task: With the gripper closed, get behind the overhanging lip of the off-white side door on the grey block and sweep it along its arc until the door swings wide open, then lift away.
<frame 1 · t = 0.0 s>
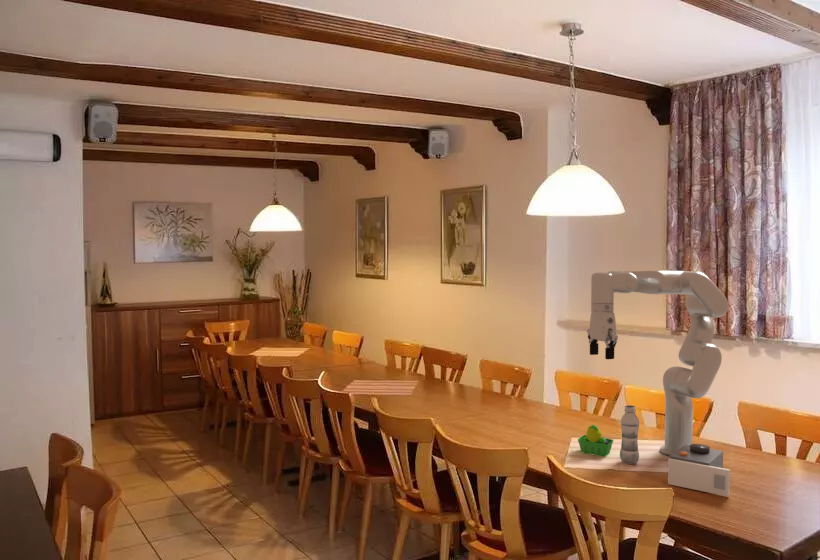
hand: (601, 356, 243), 37 cm above the table, tool pointing down, fingers open, 9 cm apart
grey block: (696, 480, 225), on the table
door: (697, 477, 216), point 4 cm above the table, hinge at 0.0°
fruit basket: (594, 454, 255), on the table
plastic bottle: (629, 463, 244), on the table
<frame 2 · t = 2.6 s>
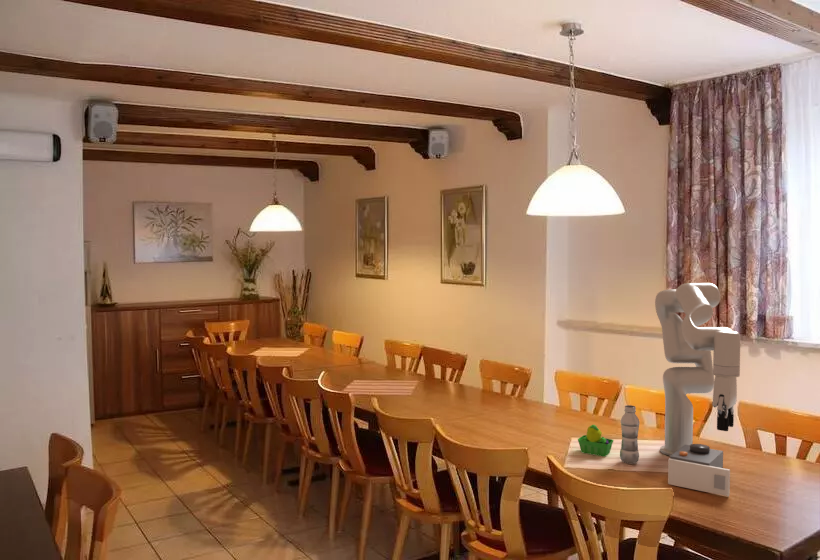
hand: (725, 427, 217), 19 cm above the table, tool pointing down, fingers open, 5 cm apart
nothing on the table moved.
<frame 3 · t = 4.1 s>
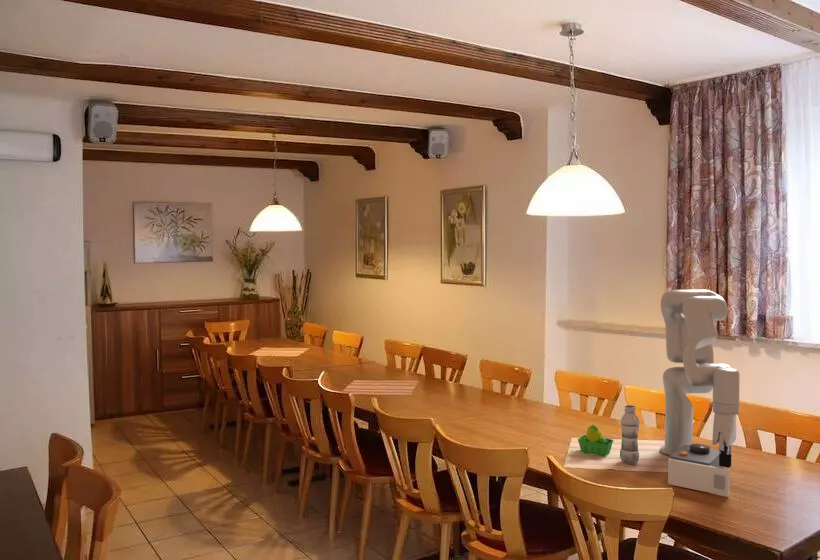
hand: (725, 466, 217), 7 cm above the table, tool pointing down, fingers closed
nothing on the table moved.
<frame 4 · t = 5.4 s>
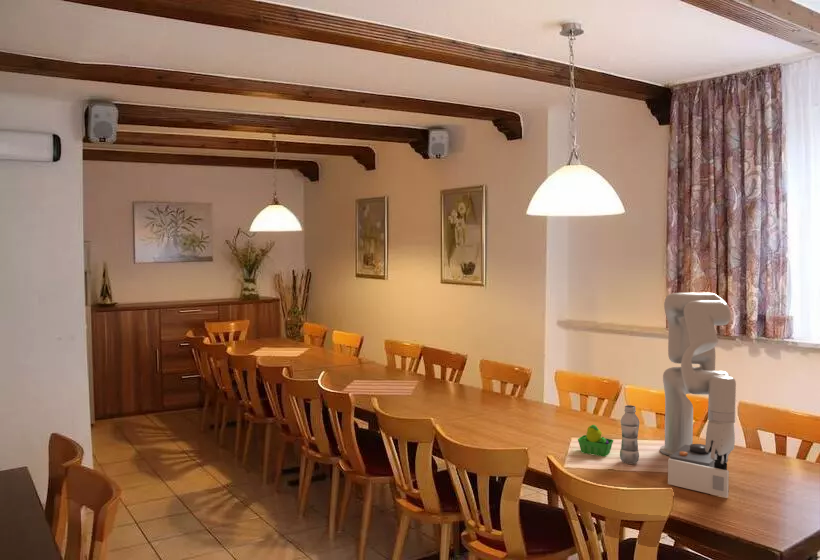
hand: (720, 475, 213), 6 cm above the table, tool pointing down, fingers closed
door: (697, 477, 215), point 4 cm above the table, hinge at -4.7°, touching gripper
everything else where it was.
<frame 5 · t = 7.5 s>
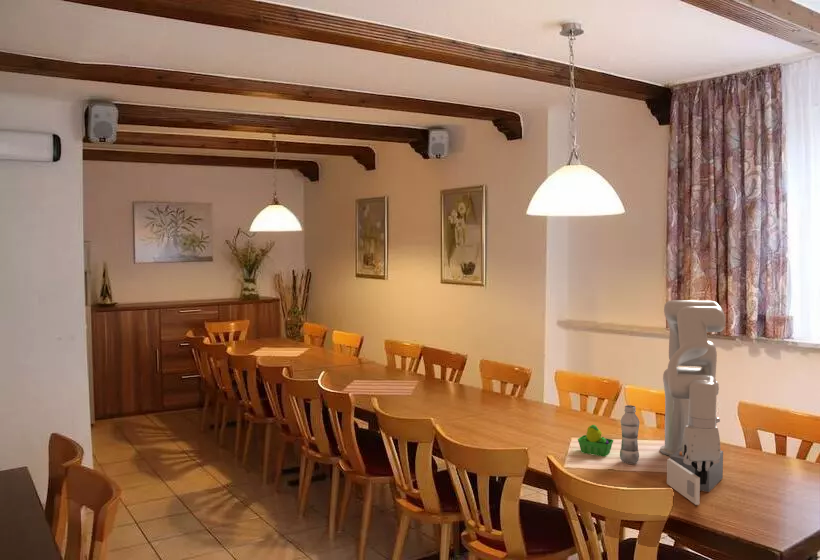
hand: (700, 482, 207), 6 cm above the table, tool pointing down, fingers closed
door: (681, 480, 213), point 4 cm above the table, hinge at -46.1°, touching gripper
everything else where it was.
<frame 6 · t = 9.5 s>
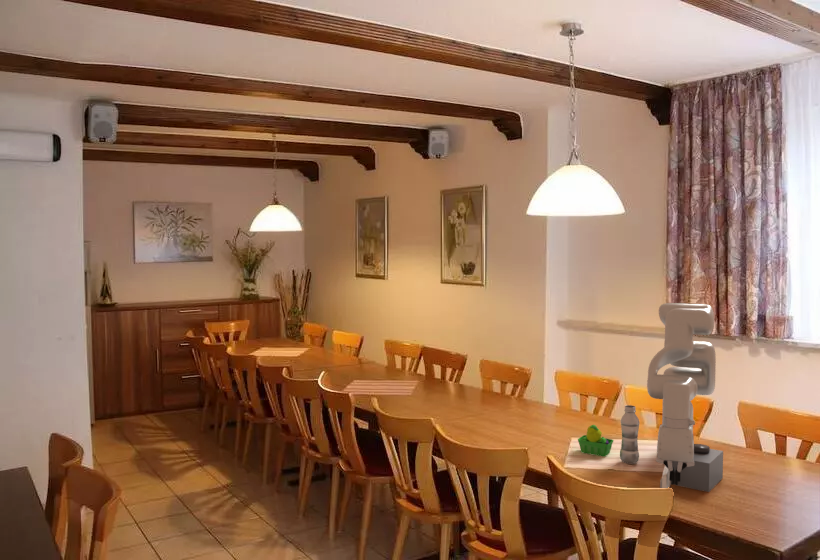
hand: (674, 483, 207), 6 cm above the table, tool pointing down, fingers closed
door: (665, 479, 214), point 4 cm above the table, hinge at -76.4°, touching gripper
everything else where it was.
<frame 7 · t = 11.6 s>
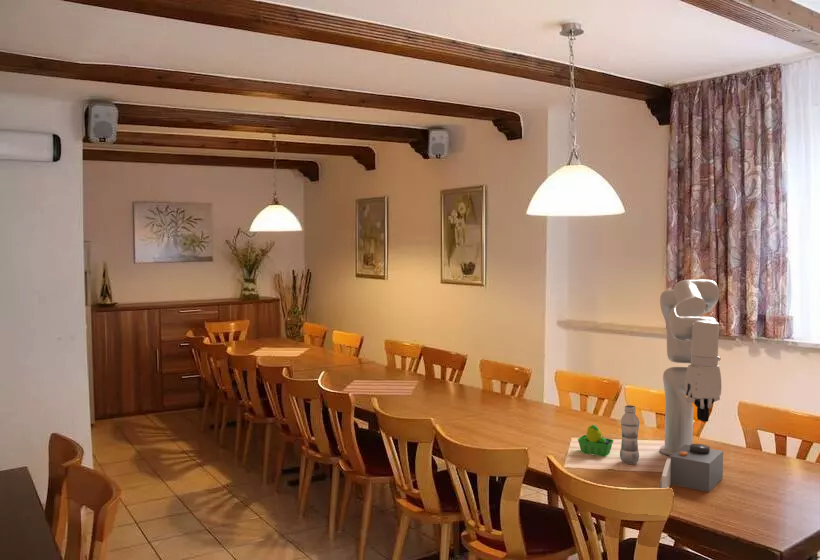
hand: (702, 420, 213), 23 cm above the table, tool pointing down, fingers closed
door: (665, 479, 214), point 4 cm above the table, hinge at -76.7°
everything else where it was.
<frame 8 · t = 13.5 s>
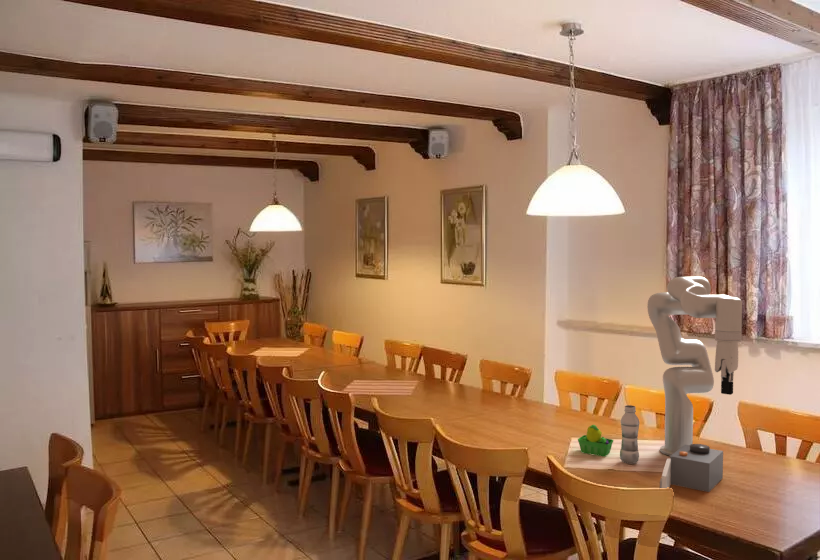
hand: (727, 393, 221), 29 cm above the table, tool pointing down, fingers closed
nothing on the table moved.
at the end: door at -77° (first picture: +0°); plastic bottle moved 0.2 cm from its start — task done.
